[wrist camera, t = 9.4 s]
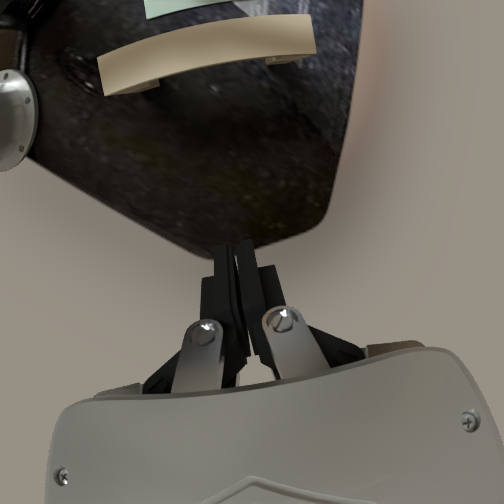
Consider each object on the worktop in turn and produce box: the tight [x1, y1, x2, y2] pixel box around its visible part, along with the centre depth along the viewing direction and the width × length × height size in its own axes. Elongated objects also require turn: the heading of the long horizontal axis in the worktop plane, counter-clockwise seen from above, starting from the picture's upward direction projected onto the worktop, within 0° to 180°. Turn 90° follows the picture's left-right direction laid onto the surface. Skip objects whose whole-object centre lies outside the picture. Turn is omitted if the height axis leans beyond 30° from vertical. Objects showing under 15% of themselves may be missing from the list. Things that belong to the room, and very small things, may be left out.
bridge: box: [97, 14, 317, 96], centre depth 17 cm, size 3×14×9 cm, turn 99°
